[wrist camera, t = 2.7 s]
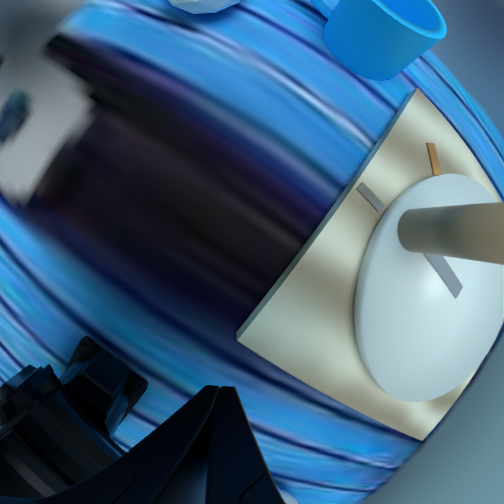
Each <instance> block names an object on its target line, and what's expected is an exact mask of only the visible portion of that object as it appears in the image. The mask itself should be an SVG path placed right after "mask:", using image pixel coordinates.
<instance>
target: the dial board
mask: <svg viewBox="0 0 504 504" xmlns="http://www.w3.org/2000/svg"><path fill="white" fill-rule="evenodd" d="M443 174H460V175H464V176H467V177H469V178H471V179H473V180H475V181H476V182H478V183H479V184H481V185H482V186H483V187H484V188H485V189H486V190H487V191H488V192H489V193H490V195H491V196H492V197H493V199H494V200H495V202H502V201H501V200H500V198H499V196H498V194H497V192H496V191H495V189H494V187H493V185H492V184H491V182H490V180H489V179H488V177H487V176H486V174H485V172H484V171H483V169H482V168H481V166H480V165H479V163H478V162H477V160H476V159H475V157H474V156H473V154H472V153H471V151H470V150H469V149H468V147H467V146H466V144H465V143H464V142H463V140H462V139H461V138H460V136H459V135H458V134H457V133H456V131H455V130H454V129H453V127H452V126H451V125H450V124H449V123H448V121H447V120H446V119H445V118H444V117H443V115H442V114H441V113H440V112H439V111H438V110H437V108H436V107H435V106H434V105H433V104H432V103H431V102H430V101H429V100H428V98H427V97H426V96H425V95H424V94H423V93H422V92H421V91H420V90H419V89H418V88H417V89H415V90H414V91H412V92H411V93H409V94H408V96H407V97H406V99H405V100H404V102H403V104H402V105H401V107H400V108H399V110H398V111H397V113H396V114H395V116H394V117H393V119H392V121H391V122H390V124H389V125H388V127H387V128H386V130H385V131H384V133H383V134H382V136H381V137H380V139H379V140H378V142H377V143H376V145H375V146H374V148H373V149H372V151H371V152H370V153H369V155H368V156H367V158H366V159H365V161H364V162H363V164H362V165H361V167H360V168H359V170H358V171H357V172H356V174H355V175H354V177H353V178H352V180H351V181H350V182H349V184H348V185H347V187H346V188H345V190H344V191H343V192H342V194H341V195H340V197H339V198H338V199H337V201H336V202H335V204H334V205H333V206H332V208H331V209H330V211H329V212H328V213H327V215H326V216H325V217H324V219H323V220H322V222H321V223H320V224H319V226H318V227H317V228H316V230H315V231H314V232H313V234H312V235H311V237H310V238H309V239H308V241H307V242H306V243H305V245H304V246H303V247H302V249H301V250H300V251H299V253H298V254H297V255H296V257H295V258H294V259H293V261H292V262H291V263H290V265H289V266H288V267H287V269H286V270H285V271H284V272H283V274H282V275H281V276H280V278H279V279H278V280H277V282H276V283H275V284H274V285H273V287H272V288H271V289H270V291H269V292H268V293H267V294H266V296H265V297H264V298H263V300H262V301H261V302H260V303H259V305H258V306H257V307H256V309H255V310H254V311H253V312H252V314H251V315H250V316H249V317H248V319H247V320H246V321H245V322H244V324H243V325H242V326H241V327H240V329H239V330H238V331H237V332H236V336H237V341H239V342H240V343H242V344H243V345H245V346H246V347H248V348H249V349H251V350H252V351H254V352H255V353H257V354H259V355H260V356H262V357H263V358H265V359H266V360H268V361H270V362H271V363H273V364H275V365H276V366H278V367H279V368H281V369H283V370H284V371H286V372H288V373H289V374H291V375H293V376H294V377H296V378H298V379H300V380H301V381H303V382H305V383H306V384H308V385H310V386H312V387H313V388H315V389H317V390H319V391H321V392H322V393H324V394H326V395H328V396H330V397H332V398H333V399H335V400H337V401H339V402H341V403H343V404H345V405H347V406H349V407H350V408H352V409H354V410H356V411H358V412H360V413H362V414H364V415H366V416H368V417H370V418H372V419H374V420H377V421H379V422H381V423H383V424H385V425H387V426H389V427H391V428H394V429H396V430H398V431H400V432H402V433H405V434H407V435H409V436H412V437H414V438H416V439H419V440H421V441H422V440H423V439H424V438H425V437H426V436H427V435H428V434H429V433H430V432H431V430H432V429H433V428H434V427H435V426H436V425H437V423H438V422H439V421H440V420H441V419H442V417H443V416H444V415H445V414H446V412H447V411H448V410H449V409H450V407H451V406H452V405H453V403H454V402H455V401H456V399H457V398H458V397H459V395H460V394H461V393H462V391H463V390H464V388H465V387H466V385H467V384H468V383H469V381H470V380H471V378H472V377H473V375H474V374H475V372H476V370H477V369H478V367H479V366H480V364H481V363H480V364H479V365H478V367H477V368H476V369H475V370H474V371H473V372H472V373H471V374H470V375H469V376H468V377H467V378H466V379H465V380H464V381H463V382H462V383H461V384H459V385H458V386H457V387H455V388H454V389H453V390H451V391H449V392H448V393H446V394H444V395H442V396H440V397H437V398H435V399H432V400H428V401H423V402H407V401H403V400H400V399H397V398H395V397H393V396H392V395H390V394H389V393H387V392H386V391H385V390H384V389H383V388H382V387H381V386H380V385H379V384H378V383H377V382H376V381H375V380H374V379H373V378H372V377H371V375H370V374H369V372H368V371H367V370H366V368H365V365H364V363H363V361H362V359H361V356H360V353H359V350H358V346H357V341H356V335H355V322H354V309H355V295H356V289H357V283H358V277H359V273H360V269H361V265H362V261H363V258H364V255H365V253H366V250H367V247H368V244H369V242H370V239H371V237H372V235H373V233H374V231H375V229H376V227H377V225H378V223H379V222H380V220H381V218H382V217H383V215H384V213H385V212H386V211H387V209H388V208H389V207H390V205H391V204H392V203H393V202H394V200H395V199H396V198H397V197H398V196H399V195H400V194H402V193H403V192H404V191H405V190H406V189H407V188H409V187H410V186H412V185H413V184H415V183H416V182H419V181H421V180H423V179H425V178H430V177H434V176H439V175H443ZM503 322H504V319H503ZM503 322H502V324H503ZM501 326H502V325H501ZM482 361H483V360H482ZM482 361H481V362H482Z"/></svg>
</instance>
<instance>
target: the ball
mask: <svg viewBox="0 0 504 504" xmlns="http://www.w3.org/2000/svg"><path fill="white" fill-rule="evenodd" d="M168 1H169V2H170V3H171V4H172V6H175V7H177V8H180V9H183V10H185V11H188V12H190V13H192V14H199V13H216V12H218V11H221V10H223V9H225V8H227V7H229V6H232V5H234V4H237V3H238V2H239V1H240V0H168Z"/></svg>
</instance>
